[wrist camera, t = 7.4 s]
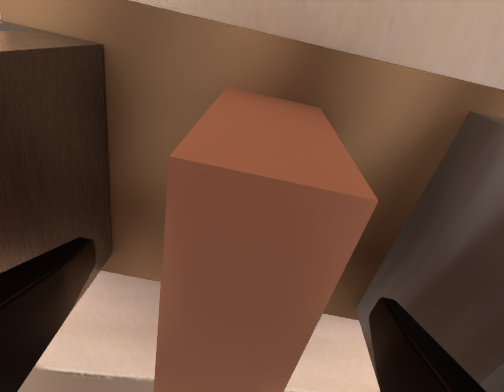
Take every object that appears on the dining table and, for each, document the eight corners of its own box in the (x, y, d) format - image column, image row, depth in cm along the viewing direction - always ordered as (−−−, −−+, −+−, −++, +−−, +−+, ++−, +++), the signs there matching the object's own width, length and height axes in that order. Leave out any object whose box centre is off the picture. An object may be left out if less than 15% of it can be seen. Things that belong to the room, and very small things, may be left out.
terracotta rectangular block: (320, 107, 11) (378, 200, 5) (266, 275, 15) (262, 433, 9) (227, 86, 11) (168, 156, 5) (200, 262, 15) (152, 414, 9)
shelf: (583, 109, 11) (1042, 223, 4) (416, 324, 17) (502, 500, 11) (3, -30, 10) (-513, -147, 3) (54, 253, 16) (-90, 401, 10)
